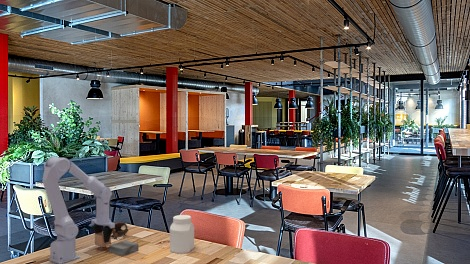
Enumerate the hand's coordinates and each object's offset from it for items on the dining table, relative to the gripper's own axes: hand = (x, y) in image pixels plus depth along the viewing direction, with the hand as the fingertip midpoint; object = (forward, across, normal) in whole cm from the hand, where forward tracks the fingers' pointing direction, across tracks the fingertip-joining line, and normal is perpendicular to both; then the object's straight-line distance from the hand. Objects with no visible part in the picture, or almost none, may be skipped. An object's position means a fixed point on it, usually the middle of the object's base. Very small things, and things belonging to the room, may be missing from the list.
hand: (102, 241), depth 171 cm
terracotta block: (+2, 0, 0) cm, 2 cm away
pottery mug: (+4, +10, -16) cm, 19 cm away
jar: (+4, -31, -20) cm, 37 cm away
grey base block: (+4, -11, -3) cm, 12 cm away
